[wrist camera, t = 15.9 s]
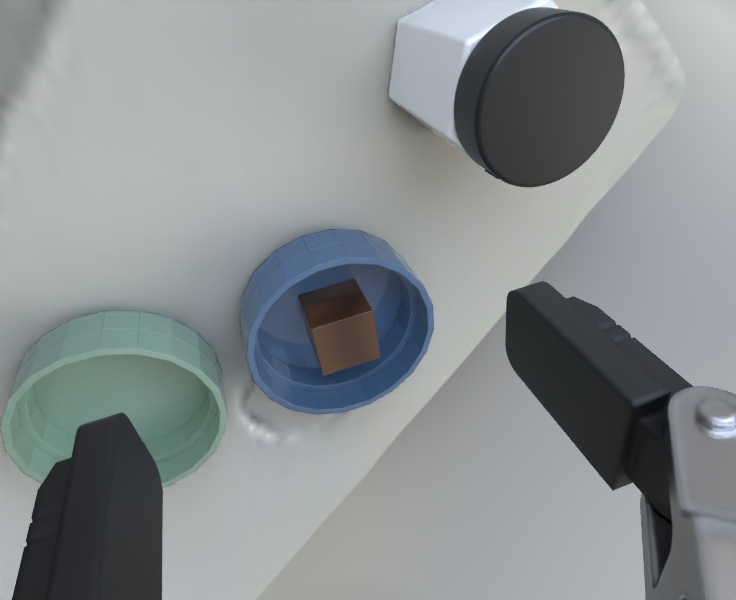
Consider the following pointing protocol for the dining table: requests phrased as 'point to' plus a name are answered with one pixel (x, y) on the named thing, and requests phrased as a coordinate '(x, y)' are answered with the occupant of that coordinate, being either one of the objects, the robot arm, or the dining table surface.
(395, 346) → the blue bowl
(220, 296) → the dining table surface
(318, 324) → the walnut block
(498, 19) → the jar
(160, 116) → the dining table surface
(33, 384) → the celadon bowl
